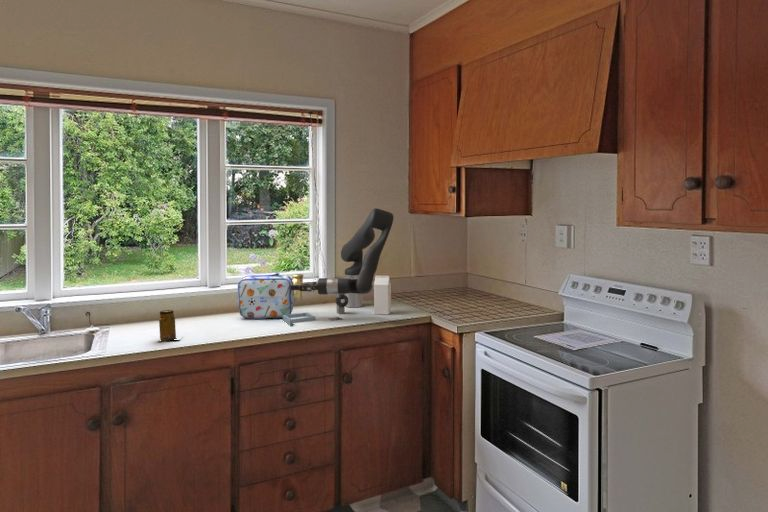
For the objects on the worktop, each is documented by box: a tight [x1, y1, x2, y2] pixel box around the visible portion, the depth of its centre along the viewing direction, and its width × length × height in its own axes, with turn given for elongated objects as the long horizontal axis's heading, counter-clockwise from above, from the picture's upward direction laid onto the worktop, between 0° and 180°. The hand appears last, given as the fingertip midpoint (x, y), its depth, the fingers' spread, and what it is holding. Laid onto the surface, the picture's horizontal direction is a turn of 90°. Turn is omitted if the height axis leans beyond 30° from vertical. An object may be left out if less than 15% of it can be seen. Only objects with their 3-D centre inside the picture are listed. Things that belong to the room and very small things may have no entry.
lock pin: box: [291, 273, 304, 302], centre depth 242 cm, size 5×5×12 cm
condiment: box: [157, 309, 177, 343], centre depth 214 cm, size 7×8×12 cm
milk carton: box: [373, 275, 392, 315], centre depth 261 cm, size 7×7×19 cm
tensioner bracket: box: [327, 294, 348, 322], centre depth 248 cm, size 18×14×11 cm
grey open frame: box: [282, 312, 316, 327], centre depth 244 cm, size 12×12×3 cm
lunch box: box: [237, 272, 294, 320], centre depth 255 cm, size 28×10×22 cm, turn 94°
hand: (292, 286), depth 242 cm, fingers closed on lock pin, 4 cm apart
